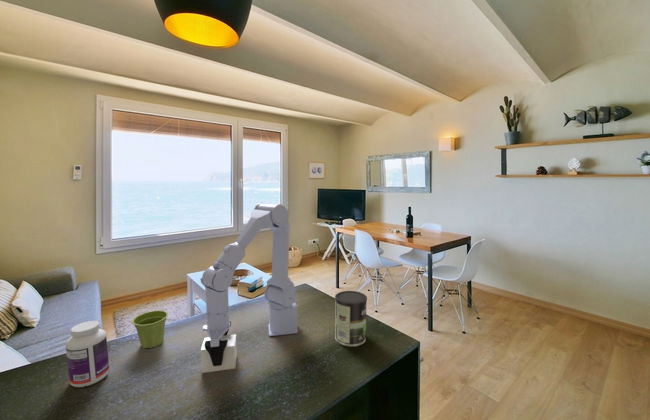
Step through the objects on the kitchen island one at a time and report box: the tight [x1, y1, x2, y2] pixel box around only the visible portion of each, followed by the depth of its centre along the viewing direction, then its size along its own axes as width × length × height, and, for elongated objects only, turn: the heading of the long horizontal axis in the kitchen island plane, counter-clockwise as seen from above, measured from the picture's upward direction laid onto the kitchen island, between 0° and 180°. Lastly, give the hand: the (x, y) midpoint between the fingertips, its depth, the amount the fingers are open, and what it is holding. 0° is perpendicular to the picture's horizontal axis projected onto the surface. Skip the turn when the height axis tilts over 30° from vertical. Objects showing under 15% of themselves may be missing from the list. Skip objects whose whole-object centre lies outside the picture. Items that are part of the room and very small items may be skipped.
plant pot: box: [131, 310, 169, 349], centre depth 90 cm, size 9×9×9 cm
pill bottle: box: [65, 320, 110, 388], centre depth 74 cm, size 8×8×14 cm
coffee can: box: [334, 290, 368, 347], centre depth 94 cm, size 10×10×14 cm
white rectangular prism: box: [200, 333, 238, 374], centre depth 81 cm, size 9×6×7 cm
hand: (219, 356), depth 81 cm, fingers open, 7 cm apart
